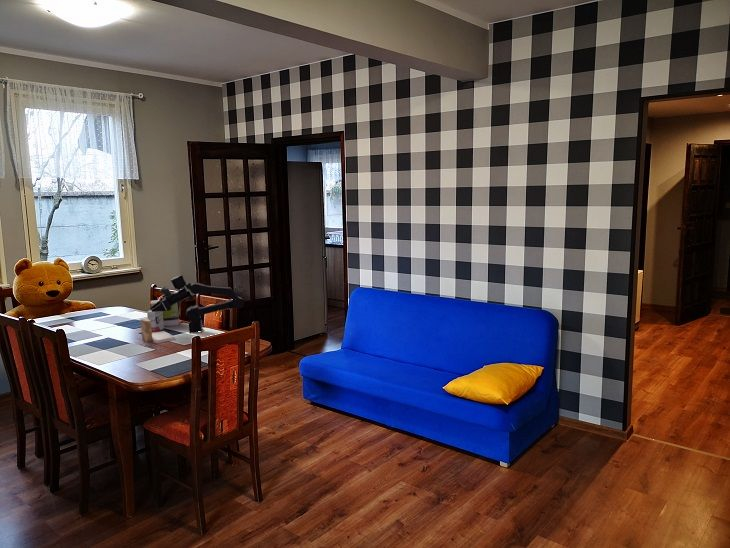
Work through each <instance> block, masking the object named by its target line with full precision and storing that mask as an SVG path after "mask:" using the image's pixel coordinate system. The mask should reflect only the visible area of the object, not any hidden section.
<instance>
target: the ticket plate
mask: <svg viewBox="0 0 730 548" xmlns="http://www.w3.org/2000/svg"><path fill="white" fill-rule="evenodd" d="M175 340H176V336H174V335H172V334H170V333H168V332H167V331H165V330H160V331H157V332H152V341H151V342H153V343H155V344H158V343H165V342H170V341H175Z"/></svg>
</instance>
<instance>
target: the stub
mask: <svg viewBox="0 0 730 548" xmlns="http://www.w3.org/2000/svg"><path fill="white" fill-rule="evenodd" d="M140 329H141V337H142V338H141V339H142V340H143V341H145V342H146V343H148V342H153V341H152V333H153V332H152V330H151V321H150V320H149V319H148V317H147V318H141V319H140Z"/></svg>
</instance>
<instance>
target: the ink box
mask: <svg viewBox="0 0 730 548" xmlns="http://www.w3.org/2000/svg"><path fill="white" fill-rule="evenodd" d="M146 315H147V316H146V317H147V319H149V320H150V321H151V330H152V333H155V332H160V331H163V330H164V328H165V326H164V323H163V311H157V312H152V311H151V309H150V310H147V312H146ZM159 330H160V331H159Z"/></svg>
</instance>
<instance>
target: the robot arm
mask: <svg viewBox="0 0 730 548" xmlns="http://www.w3.org/2000/svg"><path fill="white" fill-rule="evenodd" d="M170 283H171V284H172V287H173V288H174V289H175V290H177V291H171V290H170V289H169V288H168V287H166V286H164V285H163V286H162V287H161V288H160V289H159V292H160V293H161V294H162V295H161V296H160V297H159V299H158V300H159V301H158V302H157V303H155V304H154V305H153V306H152V308H153V309H152V310H151V309H150V310H151V311H152V312H157V311H169V310H171V308H172V307H171V306H173V305H174V304H176V303H177V304H179V303H180V302H182V301H184V300H186V299H188V298H189V300H191V301H192V299H193V297H194V295H202V294H216V295H217V294H218V295H226V296H228V297H229V298H230V299H228V300H227V301H222V302H217V303H215V304H210V305H205V306H201V307H200V306H199V305H198V304H196V305H191V306H189V307H188V308H187V309H185V316H186V318H187V319H188V320H190V321H189V323H188V331H189V332H188V333H189V334H192V333H191V332H198V331H202V330H203V331H204V328H203V320H202V316H204V315H207V314H211V313H215V312H219V311H224V310H229V309H236V310H237V309H241V308H244V305H245V302H244V299H243V298H242V297H240V296H238V295H237V294H236V293H235V291H234V290H233V289H232V288H231V287H230V286H228V287H225V286H214V285H206V284H202V283H200V282H195V281H194V282H192V283H190V282H186V281H185V279H184V275H183V274H180V275H177V276H174V277H172V278H170ZM231 299H233V300H231ZM235 299H236V300H235ZM166 309H167V310H166ZM203 331H202V332H203Z"/></svg>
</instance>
